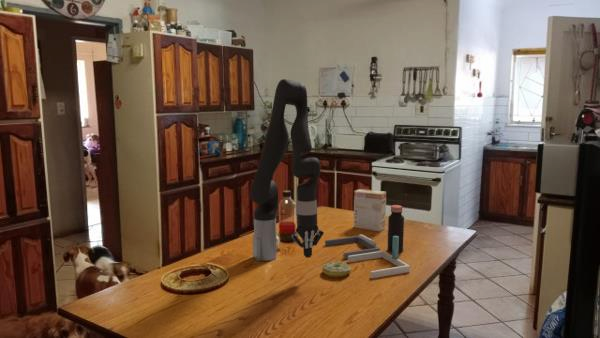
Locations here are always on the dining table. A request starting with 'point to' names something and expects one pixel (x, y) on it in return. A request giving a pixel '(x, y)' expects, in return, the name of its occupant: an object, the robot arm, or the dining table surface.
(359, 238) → the grey u-shaped handle
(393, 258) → the white u-shaped bracket
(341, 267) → the decorated donut
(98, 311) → the dining table surface
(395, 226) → the vinegar
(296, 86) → the robot arm
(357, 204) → the coffeecake box
